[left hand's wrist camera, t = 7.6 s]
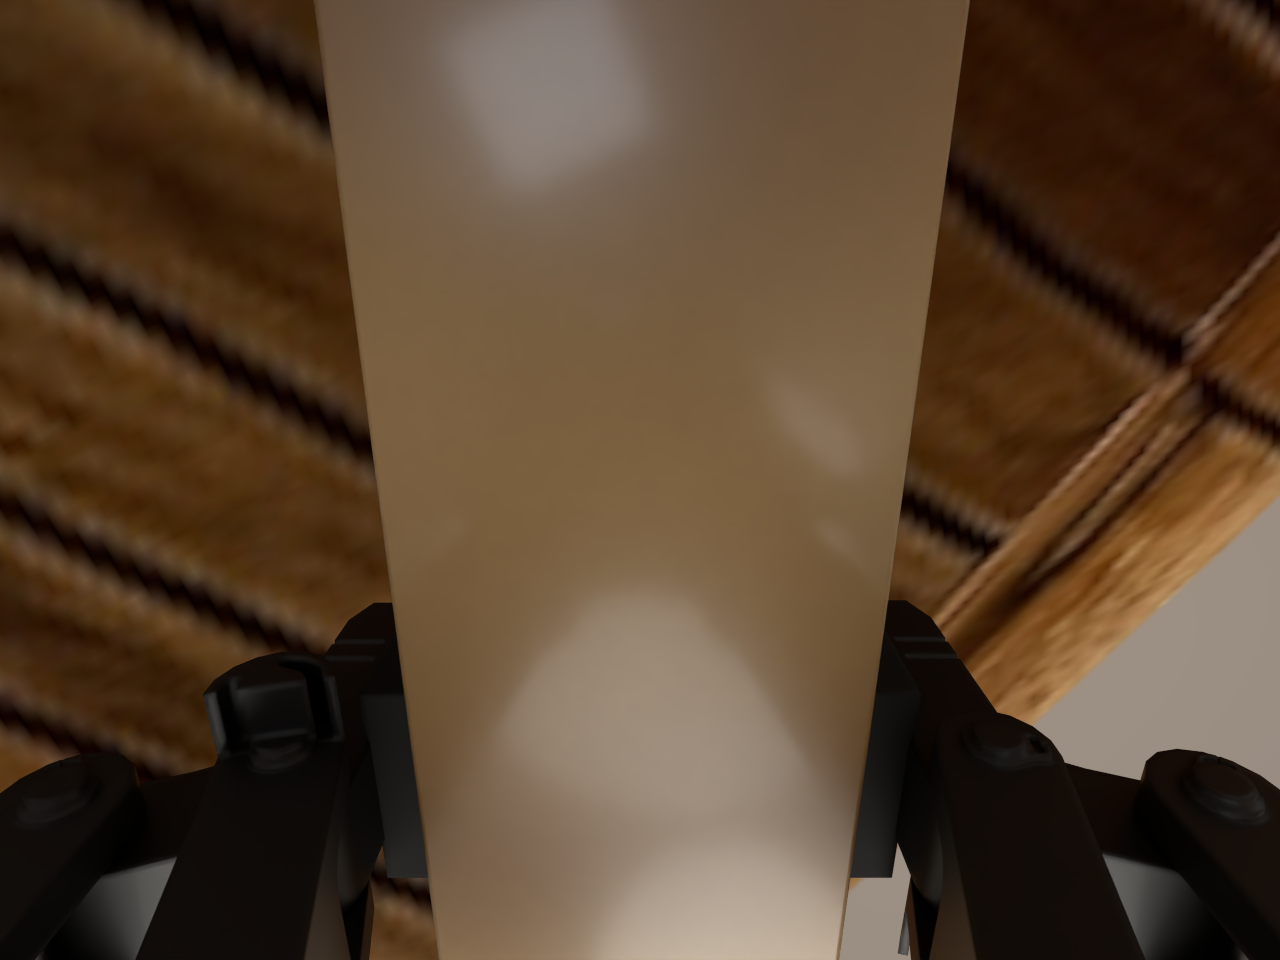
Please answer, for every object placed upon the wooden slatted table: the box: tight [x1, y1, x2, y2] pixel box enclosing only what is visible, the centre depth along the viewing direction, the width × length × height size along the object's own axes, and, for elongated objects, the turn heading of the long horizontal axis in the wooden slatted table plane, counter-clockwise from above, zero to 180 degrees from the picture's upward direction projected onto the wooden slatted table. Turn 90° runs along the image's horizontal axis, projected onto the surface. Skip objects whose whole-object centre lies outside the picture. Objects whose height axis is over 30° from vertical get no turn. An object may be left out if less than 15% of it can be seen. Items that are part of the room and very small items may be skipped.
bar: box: [314, 0, 970, 960], centre depth 9 cm, size 24×5×8 cm, turn 0°
